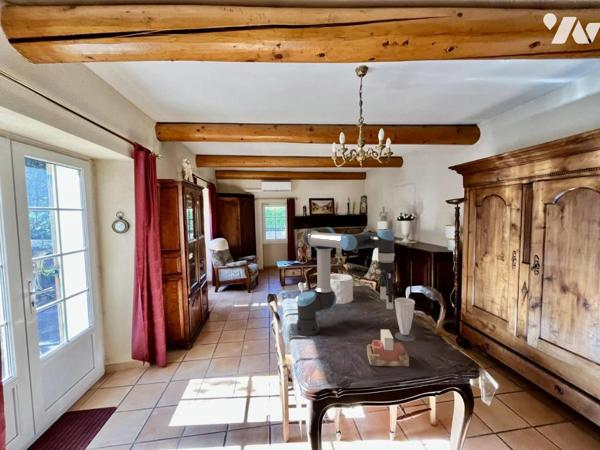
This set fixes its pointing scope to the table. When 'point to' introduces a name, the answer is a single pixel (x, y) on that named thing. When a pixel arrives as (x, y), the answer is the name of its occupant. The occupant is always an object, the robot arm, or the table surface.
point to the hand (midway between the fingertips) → (386, 303)
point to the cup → (404, 318)
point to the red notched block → (387, 351)
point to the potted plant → (301, 287)
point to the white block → (386, 339)
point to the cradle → (375, 360)
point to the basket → (342, 287)
